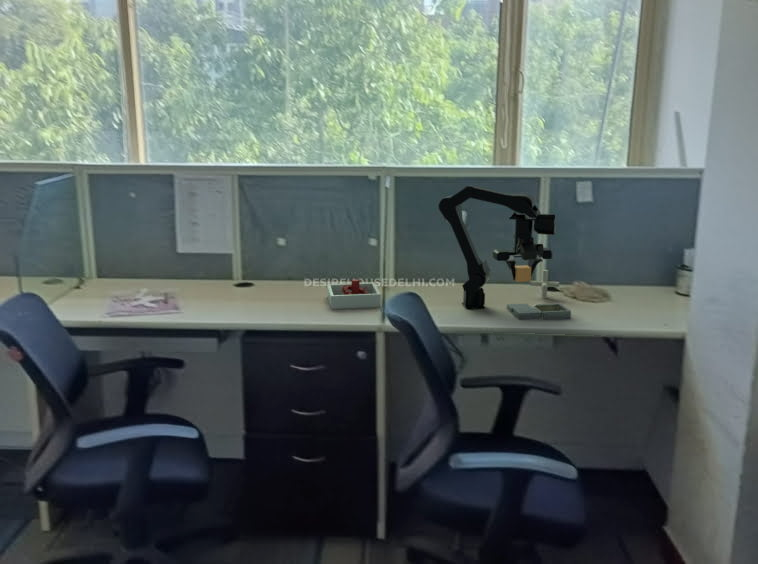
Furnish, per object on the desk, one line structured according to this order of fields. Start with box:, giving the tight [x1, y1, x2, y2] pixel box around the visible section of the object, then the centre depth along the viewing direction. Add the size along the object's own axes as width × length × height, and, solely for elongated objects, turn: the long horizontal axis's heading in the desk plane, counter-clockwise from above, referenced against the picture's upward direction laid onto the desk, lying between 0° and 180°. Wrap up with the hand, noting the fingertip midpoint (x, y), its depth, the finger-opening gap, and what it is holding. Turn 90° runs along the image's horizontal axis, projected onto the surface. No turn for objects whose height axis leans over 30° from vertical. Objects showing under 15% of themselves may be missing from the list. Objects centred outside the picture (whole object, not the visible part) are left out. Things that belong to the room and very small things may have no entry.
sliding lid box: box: [512, 302, 572, 321], centre depth 241 cm, size 17×9×2 cm, turn 98°
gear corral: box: [326, 282, 382, 310], centre depth 258 cm, size 17×16×4 cm
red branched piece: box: [342, 278, 369, 295], centre depth 257 cm, size 11×12×8 cm
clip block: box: [513, 264, 532, 283], centre depth 243 cm, size 5×4×4 cm
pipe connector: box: [529, 269, 560, 299], centre depth 261 cm, size 10×10×10 cm
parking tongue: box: [506, 303, 532, 314], centre depth 247 cm, size 7×5×2 cm
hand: (521, 279), depth 244 cm, fingers closed on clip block, 5 cm apart
